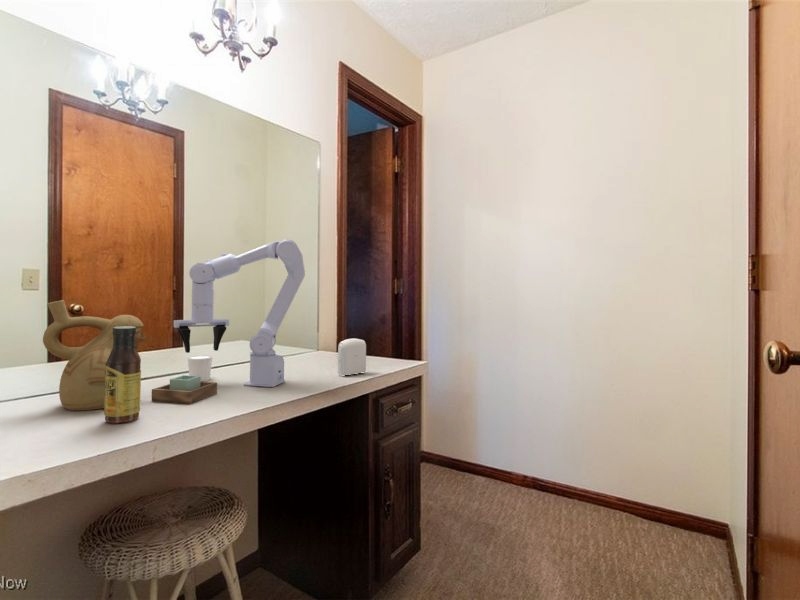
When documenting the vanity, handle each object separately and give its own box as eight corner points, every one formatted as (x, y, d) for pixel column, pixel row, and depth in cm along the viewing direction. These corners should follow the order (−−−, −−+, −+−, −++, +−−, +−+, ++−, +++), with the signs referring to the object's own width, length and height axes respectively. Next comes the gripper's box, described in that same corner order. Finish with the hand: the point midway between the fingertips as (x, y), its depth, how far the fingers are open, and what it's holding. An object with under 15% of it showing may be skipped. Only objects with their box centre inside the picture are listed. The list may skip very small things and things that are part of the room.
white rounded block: (205, 382, 119) (205, 359, 119) (182, 381, 120) (182, 358, 119) (216, 377, 126) (216, 355, 126) (194, 377, 126) (195, 355, 126)
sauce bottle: (101, 419, 84) (102, 326, 84) (136, 413, 88) (137, 324, 88) (107, 427, 79) (108, 328, 79) (143, 421, 84) (144, 327, 83)
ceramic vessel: (151, 404, 95) (152, 301, 95) (41, 420, 82) (42, 300, 82) (139, 390, 108) (140, 299, 108) (43, 402, 95) (43, 298, 95)
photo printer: (342, 377, 130) (343, 340, 130) (335, 375, 133) (336, 338, 133) (367, 373, 137) (368, 338, 137) (360, 371, 140) (360, 337, 140)
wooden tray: (217, 393, 107) (217, 382, 107) (189, 404, 96) (190, 392, 96) (181, 391, 109) (182, 380, 109) (151, 401, 98) (151, 389, 98)
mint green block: (183, 392, 105) (183, 375, 105) (200, 393, 105) (200, 376, 104) (169, 396, 100) (169, 379, 100) (187, 398, 100) (187, 380, 100)
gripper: (177, 305, 108) (177, 355, 108) (232, 305, 117) (232, 350, 118) (172, 304, 113) (171, 351, 114) (225, 304, 123) (224, 348, 123)
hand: (202, 351), depth 116 cm, fingers open, 7 cm apart
